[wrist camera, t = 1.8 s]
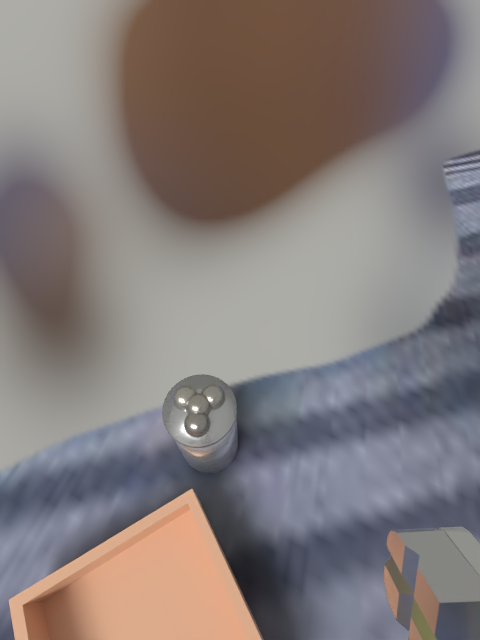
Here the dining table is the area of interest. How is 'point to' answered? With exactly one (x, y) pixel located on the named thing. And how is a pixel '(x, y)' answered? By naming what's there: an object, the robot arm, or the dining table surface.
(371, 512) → the dining table surface
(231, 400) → the silver metal cylinder
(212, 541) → the terracotta bin
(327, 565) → the dining table surface
